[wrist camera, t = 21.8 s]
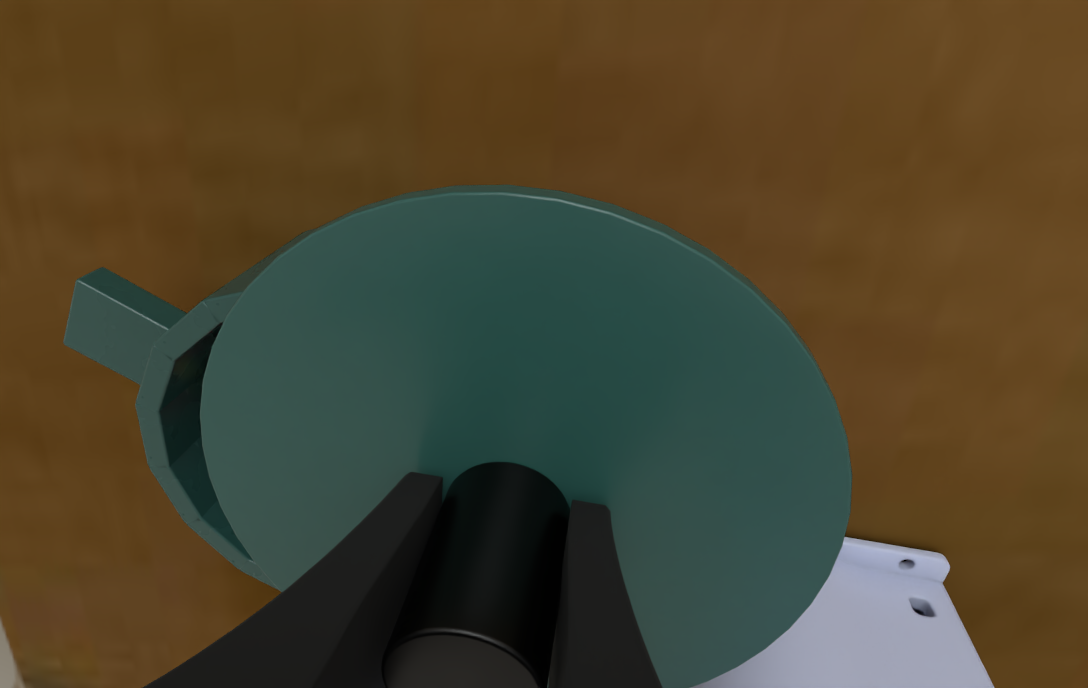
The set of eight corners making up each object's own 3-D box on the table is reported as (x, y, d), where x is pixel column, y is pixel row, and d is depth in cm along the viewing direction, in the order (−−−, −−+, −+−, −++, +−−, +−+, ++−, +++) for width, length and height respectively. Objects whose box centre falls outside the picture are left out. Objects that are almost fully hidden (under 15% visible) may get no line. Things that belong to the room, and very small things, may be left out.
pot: (231, 98, 20) (82, 134, 14) (690, 374, 22) (702, 491, 17) (151, 366, 25) (21, 461, 20) (525, 566, 27) (495, 700, 22)
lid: (362, 12, 9) (148, 31, 5) (992, 421, 11) (1189, 667, 7) (168, 511, 15) (-5, 701, 11) (603, 729, 17) (590, 960, 13)
